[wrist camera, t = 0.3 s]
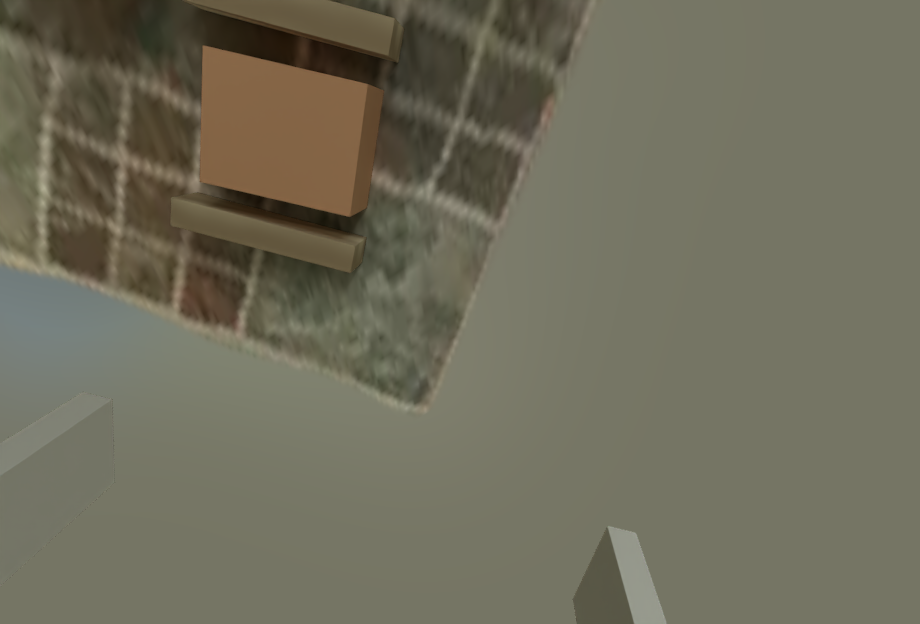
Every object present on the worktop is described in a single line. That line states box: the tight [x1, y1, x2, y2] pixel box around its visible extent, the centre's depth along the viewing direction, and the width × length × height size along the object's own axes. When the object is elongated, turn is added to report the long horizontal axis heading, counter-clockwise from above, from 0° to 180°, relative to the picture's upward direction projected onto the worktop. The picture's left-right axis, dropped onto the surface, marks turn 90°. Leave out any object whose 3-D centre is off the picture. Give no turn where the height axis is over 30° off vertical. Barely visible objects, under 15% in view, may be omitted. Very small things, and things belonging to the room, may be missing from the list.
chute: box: [170, 0, 404, 273], centre depth 32 cm, size 16×13×3 cm
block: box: [200, 45, 384, 217], centre depth 32 cm, size 8×10×4 cm
